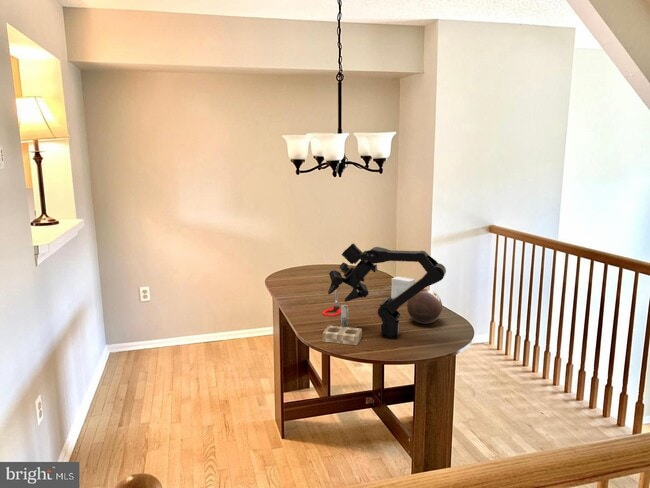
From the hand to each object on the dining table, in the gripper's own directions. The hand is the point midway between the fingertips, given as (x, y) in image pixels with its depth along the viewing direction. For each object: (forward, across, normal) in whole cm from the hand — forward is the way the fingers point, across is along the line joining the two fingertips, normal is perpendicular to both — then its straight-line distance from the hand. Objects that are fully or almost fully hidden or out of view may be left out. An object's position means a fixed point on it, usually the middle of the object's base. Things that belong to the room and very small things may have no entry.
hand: (336, 297), depth 202 cm
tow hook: (+16, -14, -11) cm, 24 cm away
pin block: (+7, -3, +17) cm, 18 cm away
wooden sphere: (-11, -39, +8) cm, 42 cm away
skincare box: (-1, -51, -24) cm, 57 cm away
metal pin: (+8, -9, +6) cm, 14 cm away
